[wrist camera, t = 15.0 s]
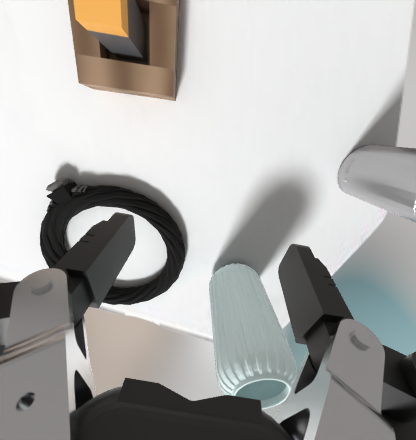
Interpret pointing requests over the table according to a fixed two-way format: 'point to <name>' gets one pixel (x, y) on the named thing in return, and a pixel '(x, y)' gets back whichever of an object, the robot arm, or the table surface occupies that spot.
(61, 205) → the cable lock
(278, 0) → the table surface
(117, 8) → the connector plug
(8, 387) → the robot arm
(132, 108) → the table surface
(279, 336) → the vase
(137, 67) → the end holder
